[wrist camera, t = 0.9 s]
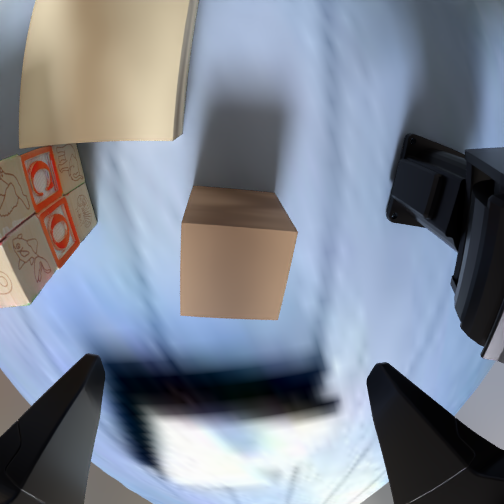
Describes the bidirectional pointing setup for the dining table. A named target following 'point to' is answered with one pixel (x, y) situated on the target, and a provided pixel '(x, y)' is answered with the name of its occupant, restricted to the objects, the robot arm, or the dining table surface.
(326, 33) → the dining table surface
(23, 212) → the stack of blocks
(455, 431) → the robot arm
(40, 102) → the birch block
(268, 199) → the walnut cube
